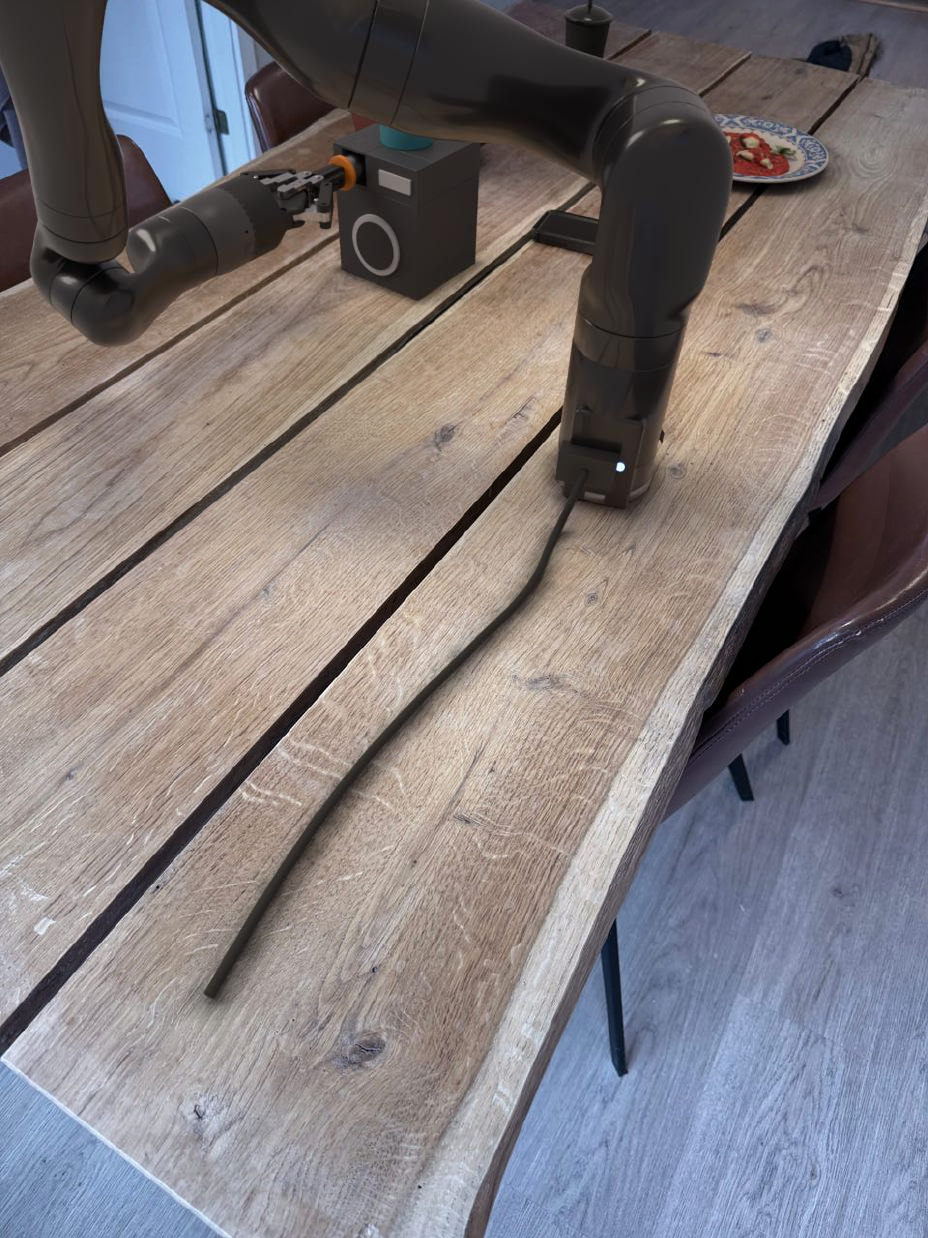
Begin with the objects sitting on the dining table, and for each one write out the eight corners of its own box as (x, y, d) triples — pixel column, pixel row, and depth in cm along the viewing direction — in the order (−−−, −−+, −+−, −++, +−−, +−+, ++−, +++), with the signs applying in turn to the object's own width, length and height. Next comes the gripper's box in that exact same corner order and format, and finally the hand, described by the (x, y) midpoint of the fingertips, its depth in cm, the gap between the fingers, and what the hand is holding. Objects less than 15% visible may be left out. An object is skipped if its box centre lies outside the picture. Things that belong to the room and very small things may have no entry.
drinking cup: (546, 103, 154) (560, -39, 139) (585, 98, 156) (603, -43, 141) (569, 119, 149) (585, -26, 134) (608, 113, 152) (629, -30, 137)
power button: (353, 194, 101) (351, 161, 99) (329, 185, 103) (326, 152, 100) (375, 183, 103) (374, 150, 101) (351, 175, 105) (349, 142, 102)
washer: (414, 302, 108) (413, 172, 97) (338, 270, 112) (329, 142, 101) (475, 263, 115) (481, 138, 104) (401, 235, 119) (399, 112, 108)
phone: (549, 207, 124) (655, 231, 120) (548, 216, 125) (653, 239, 121) (528, 231, 119) (638, 256, 115) (527, 239, 120) (636, 264, 116)
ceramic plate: (653, 184, 133) (657, 163, 131) (659, 121, 150) (662, 101, 148) (831, 204, 131) (839, 183, 128) (817, 137, 148) (823, 117, 146)
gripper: (269, 209, 86) (385, 154, 95) (172, 171, 91) (292, 122, 100) (278, 284, 91) (387, 224, 101) (187, 244, 96) (299, 191, 106)
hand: (339, 173), depth 101 cm, fingers closed
